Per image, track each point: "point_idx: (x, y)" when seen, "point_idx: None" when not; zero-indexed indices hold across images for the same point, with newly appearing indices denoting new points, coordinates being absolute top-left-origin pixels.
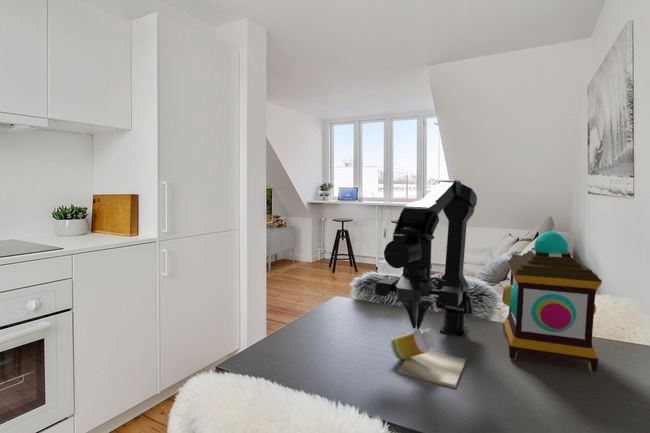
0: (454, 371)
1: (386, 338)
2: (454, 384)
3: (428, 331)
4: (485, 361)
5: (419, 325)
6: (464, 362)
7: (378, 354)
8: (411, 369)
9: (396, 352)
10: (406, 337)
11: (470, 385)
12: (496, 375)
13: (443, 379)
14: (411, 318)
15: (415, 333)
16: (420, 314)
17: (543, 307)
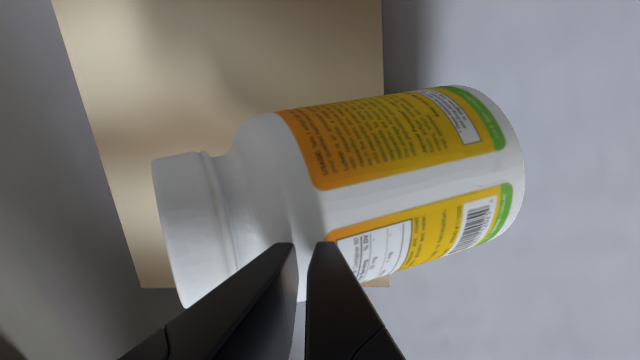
0: (124, 145)
1: (574, 332)
2: (57, 3)
3: (163, 226)
4: (91, 318)
5: (251, 262)
6: (132, 255)
7: (569, 129)
8: (311, 28)
9: (440, 87)
10: (381, 156)
11: (29, 75)
12: (5, 227)
13: (122, 22)
14: (337, 296)
15: (294, 188)
16: (167, 354)
17: None
